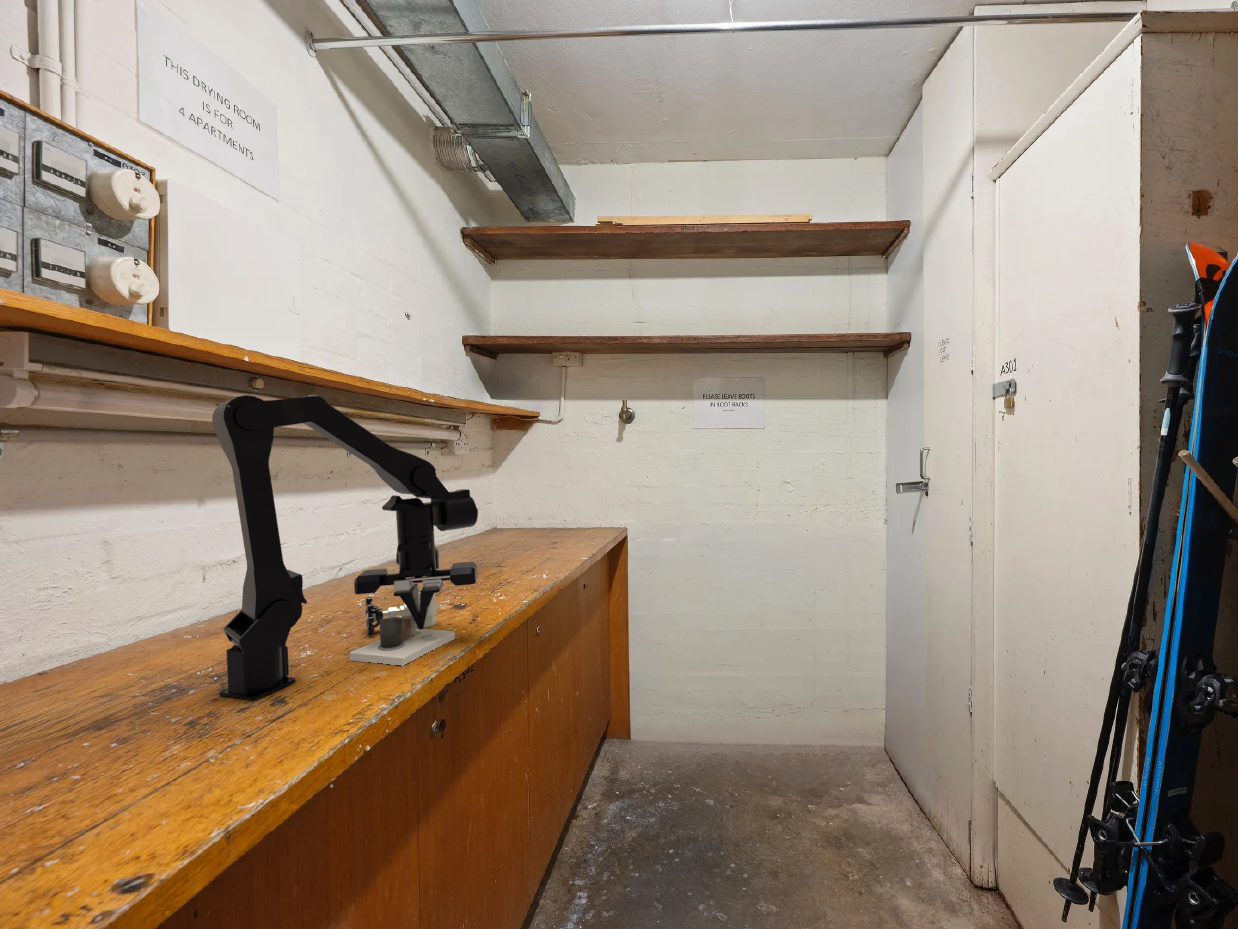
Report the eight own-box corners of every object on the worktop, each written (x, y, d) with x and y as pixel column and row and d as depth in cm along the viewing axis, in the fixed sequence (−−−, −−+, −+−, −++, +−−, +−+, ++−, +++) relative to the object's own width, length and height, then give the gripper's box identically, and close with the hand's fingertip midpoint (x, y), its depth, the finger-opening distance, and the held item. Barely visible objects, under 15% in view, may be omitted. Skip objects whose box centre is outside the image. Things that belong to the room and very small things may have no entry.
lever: (395, 647, 88) (394, 623, 88) (376, 647, 88) (375, 623, 88) (419, 632, 95) (418, 610, 95) (401, 632, 95) (400, 609, 95)
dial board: (403, 666, 84) (402, 657, 84) (349, 660, 87) (349, 651, 87) (455, 638, 96) (454, 630, 96) (406, 634, 100) (406, 626, 99)
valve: (434, 619, 109) (366, 630, 103) (432, 585, 109) (364, 594, 103) (440, 628, 103) (368, 640, 97) (439, 592, 103) (367, 601, 97)
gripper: (477, 525, 103) (481, 609, 104) (368, 532, 100) (374, 620, 100) (472, 533, 92) (477, 628, 93) (350, 542, 89) (356, 641, 89)
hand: (421, 628), depth 94 cm, fingers closed
